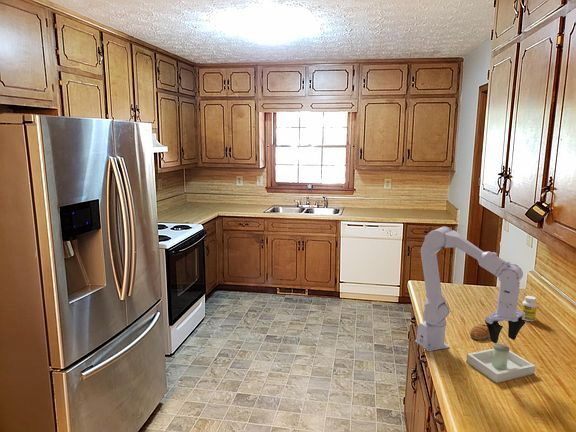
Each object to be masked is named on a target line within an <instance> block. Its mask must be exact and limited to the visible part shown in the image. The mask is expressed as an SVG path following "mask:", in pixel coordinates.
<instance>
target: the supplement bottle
mask: <svg viewBox="0 0 576 432" xmlns="http://www.w3.org/2000/svg"><path fill="white" fill-rule="evenodd" d="M536 300H537V297H536V296H534V295H533V296H532V295H526V296H525V297H524V300H523V301H522V304H521V310H520V311H522V312H524V313H525V318H523V320H525V322H534V321H535V320H536V315H537V308H538V304H537V303H536V302H537V301H536Z"/></svg>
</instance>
